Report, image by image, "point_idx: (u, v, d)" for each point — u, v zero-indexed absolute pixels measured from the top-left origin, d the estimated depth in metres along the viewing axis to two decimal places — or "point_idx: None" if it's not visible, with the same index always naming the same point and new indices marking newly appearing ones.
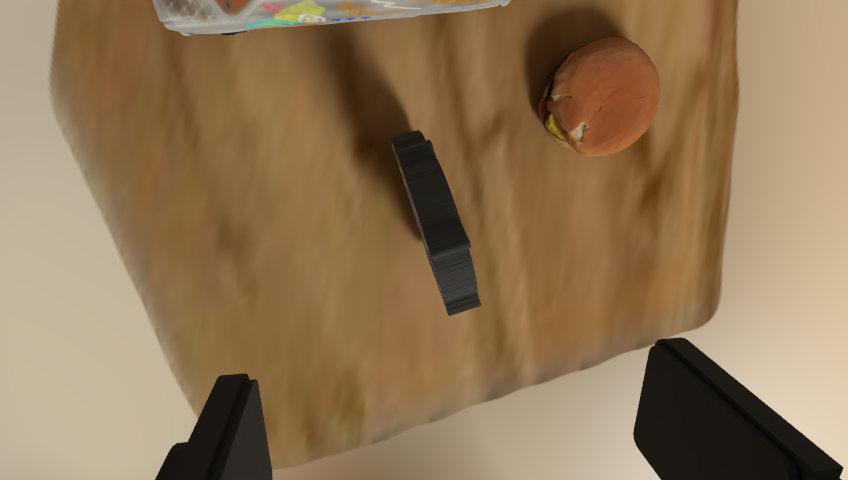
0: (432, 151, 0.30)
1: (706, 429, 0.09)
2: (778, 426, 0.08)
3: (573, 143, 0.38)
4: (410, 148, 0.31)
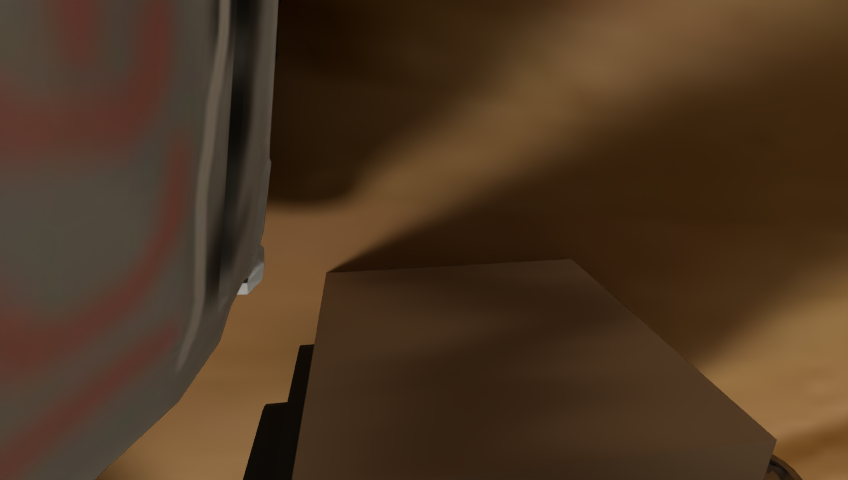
0: None
1: None
2: None
3: None
4: None
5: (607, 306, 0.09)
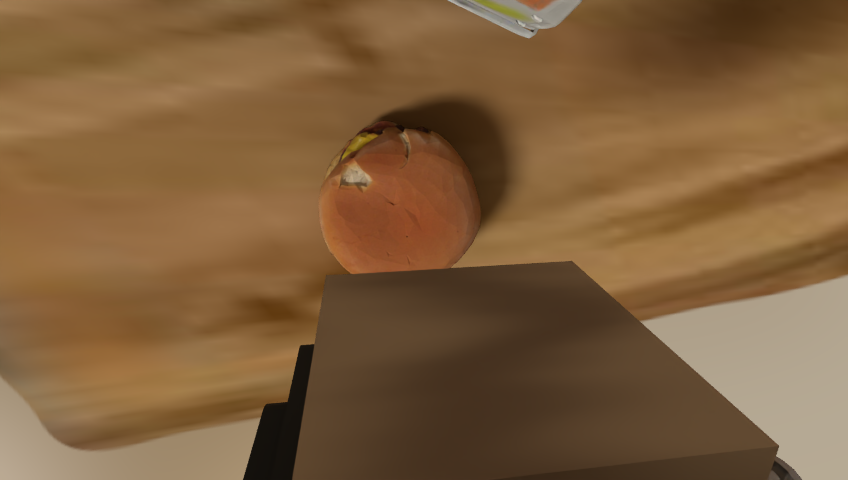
0: None
1: None
2: None
3: (337, 171, 0.24)
4: None
5: (608, 309, 0.09)
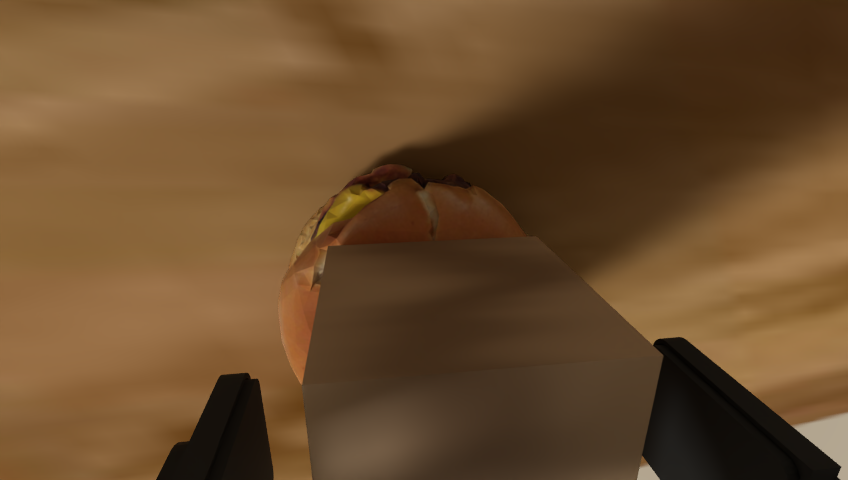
0: None
1: (704, 428, 0.09)
2: (776, 425, 0.08)
3: (307, 258, 0.14)
4: None
5: (558, 270, 0.11)
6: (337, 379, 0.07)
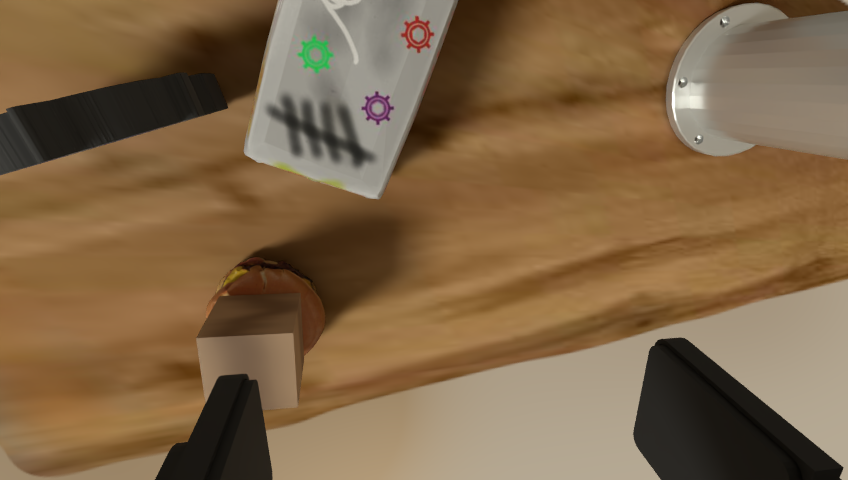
0: (187, 117, 0.26)
1: (706, 429, 0.09)
2: (778, 426, 0.08)
3: (216, 297, 0.36)
4: (188, 90, 0.25)
5: (292, 307, 0.33)
6: (205, 336, 0.29)
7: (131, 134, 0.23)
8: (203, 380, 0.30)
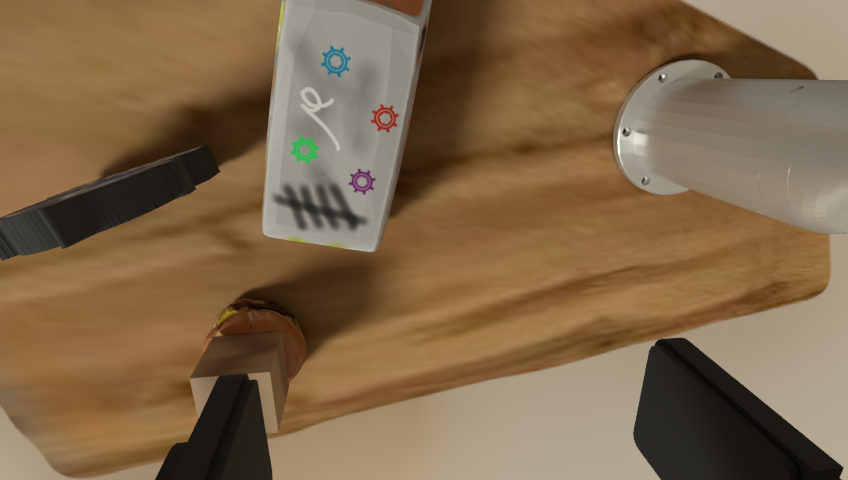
0: (180, 195, 0.31)
1: (706, 429, 0.09)
2: (778, 426, 0.08)
3: (210, 335, 0.42)
4: (180, 173, 0.31)
5: (272, 347, 0.39)
6: (197, 377, 0.35)
7: (133, 217, 0.29)
8: (197, 412, 0.36)
